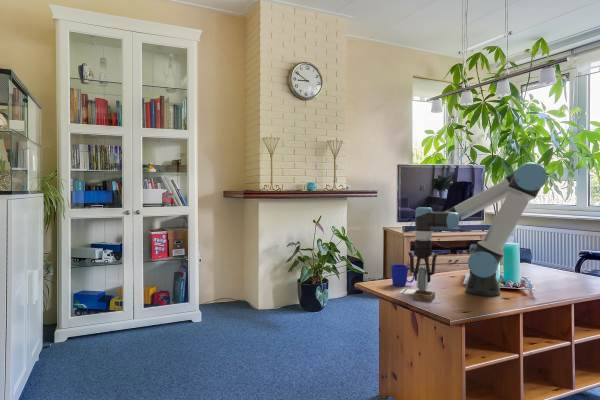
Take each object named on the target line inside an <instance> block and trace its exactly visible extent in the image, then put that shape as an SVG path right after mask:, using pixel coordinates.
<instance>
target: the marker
mask: <svg viewBox="0 0 600 400" xmlns="http://www.w3.org/2000/svg"><path fill="white" fill-rule="evenodd" d="M418 272H419V273H418V274H419V288H418V290H422V291H427V290H426V289H425V276H426V275H427V271H426V266H423V265H422V266H419V271H418Z"/></svg>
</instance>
